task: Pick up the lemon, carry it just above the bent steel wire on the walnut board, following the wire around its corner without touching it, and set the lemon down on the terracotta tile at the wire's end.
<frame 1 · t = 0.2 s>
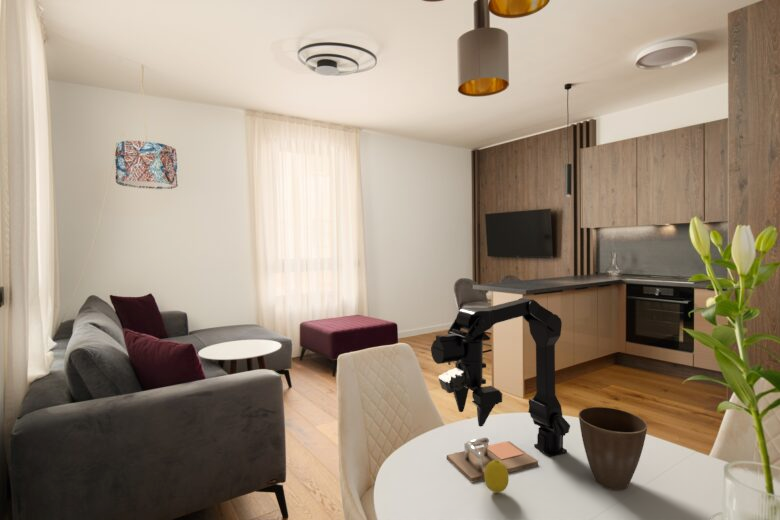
hand: (470, 418, 107), 14 cm above the table, tool pointing down, fingers open, 9 cm apart
lemon: (496, 493, 100), on the table
terracotta tile: (503, 454, 117), resting on walnut board
bent wire: (483, 466, 111), resting on walnut board
plant pot: (610, 482, 104), on the table
walnut board: (491, 461, 114), on the table
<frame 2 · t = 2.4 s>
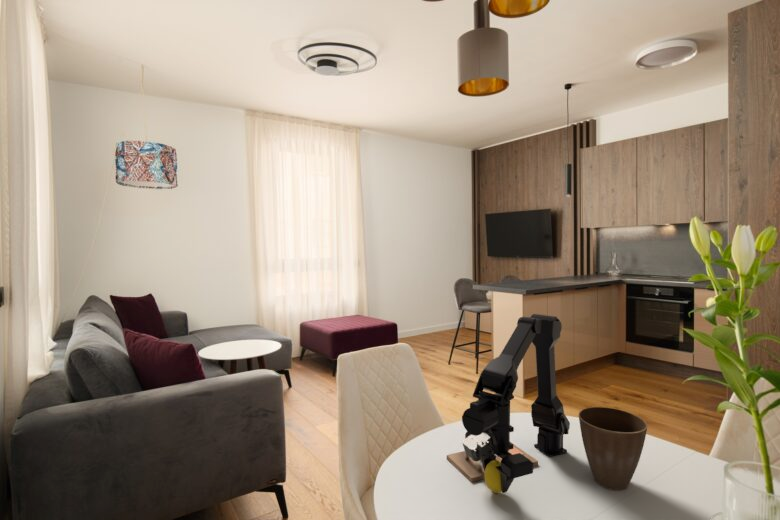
hand: (496, 485, 99), 2 cm above the table, tool pointing down, fingers closed on lemon, 5 cm apart
lemon: (496, 493, 100), on the table, touching gripper
everything else where it was.
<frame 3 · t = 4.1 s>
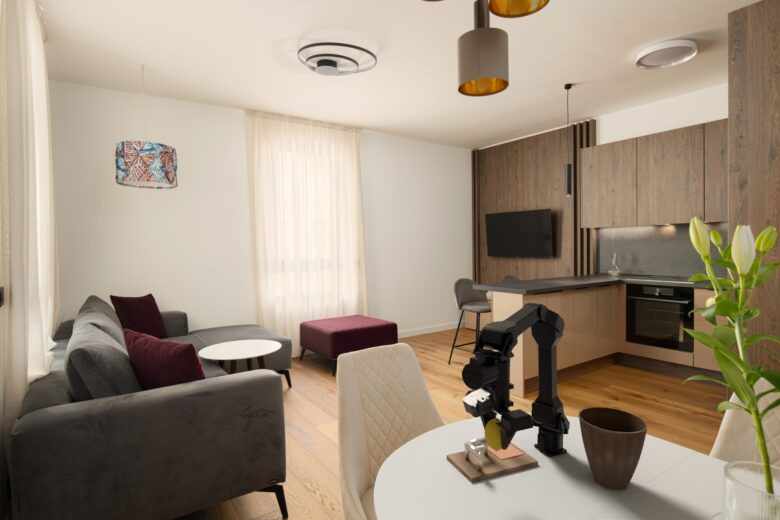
hand: (496, 443, 99), 12 cm above the table, tool pointing down, fingers closed on lemon, 5 cm apart
lemon: (496, 452, 99), point 10 cm above the table, touching gripper
everything else where it was.
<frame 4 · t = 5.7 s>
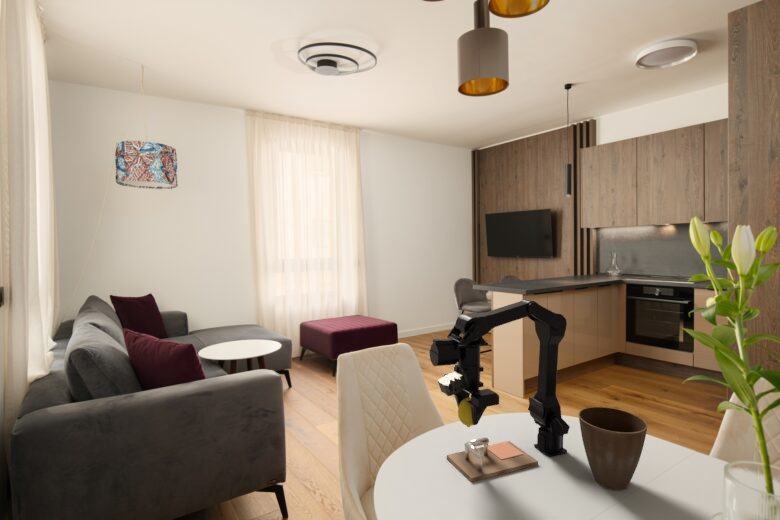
hand: (468, 420, 112), 12 cm above the table, tool pointing down, fingers closed on lemon, 5 cm apart
lemon: (468, 427, 112), point 10 cm above the table, touching gripper
everything else where it was.
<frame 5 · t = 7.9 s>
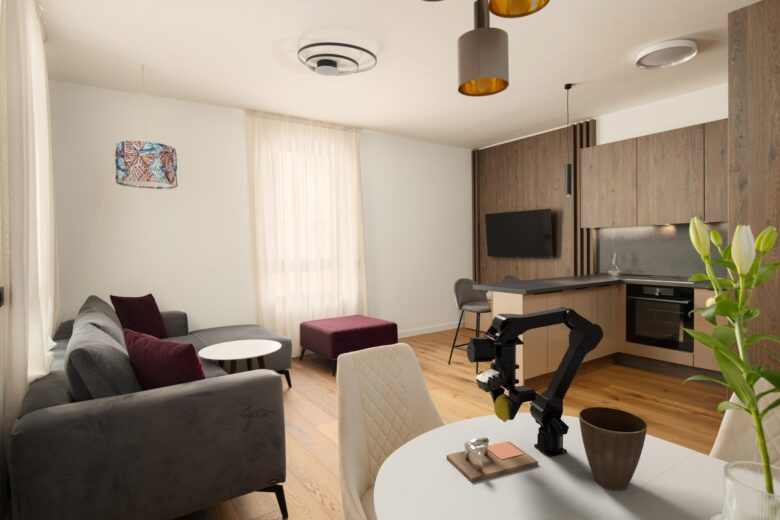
hand: (504, 415, 117), 11 cm above the table, tool pointing down, fingers closed on lemon, 5 cm apart
lemon: (504, 422, 117), point 9 cm above the table, touching gripper
everything else where it was.
when the fingers open (4 cm above the table, at t = 9.4 s): lemon drops 1 cm, resting on terracotta tile.
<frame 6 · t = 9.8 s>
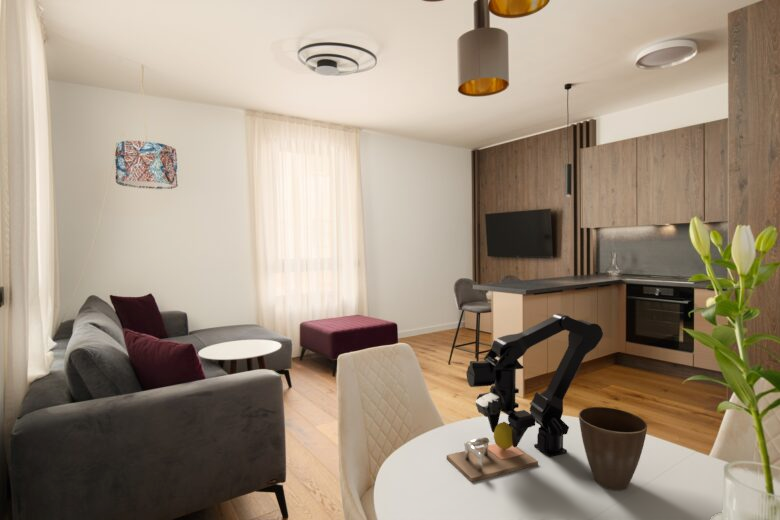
hand: (504, 439, 117), 4 cm above the table, tool pointing down, fingers open, 9 cm apart
lemon: (503, 450, 117), point 1 cm above the table, touching terracotta tile
everything else where it was.
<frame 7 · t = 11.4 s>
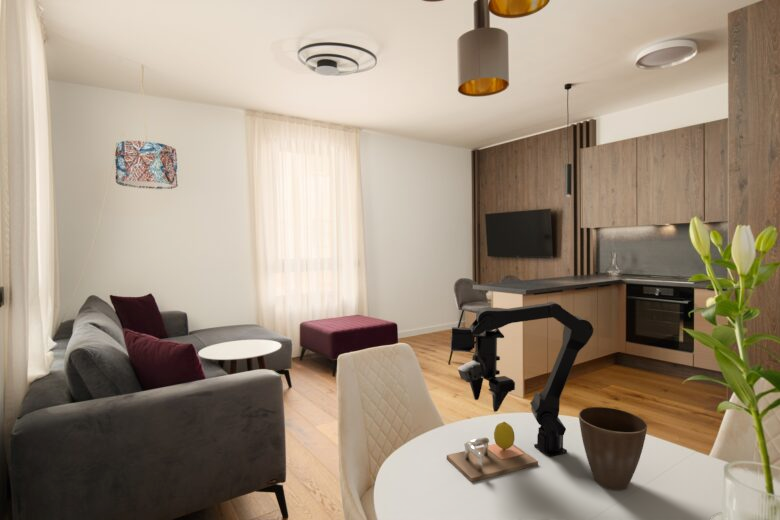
hand: (485, 405, 122), 12 cm above the table, tool pointing down, fingers open, 9 cm apart
nothing on the table moved.
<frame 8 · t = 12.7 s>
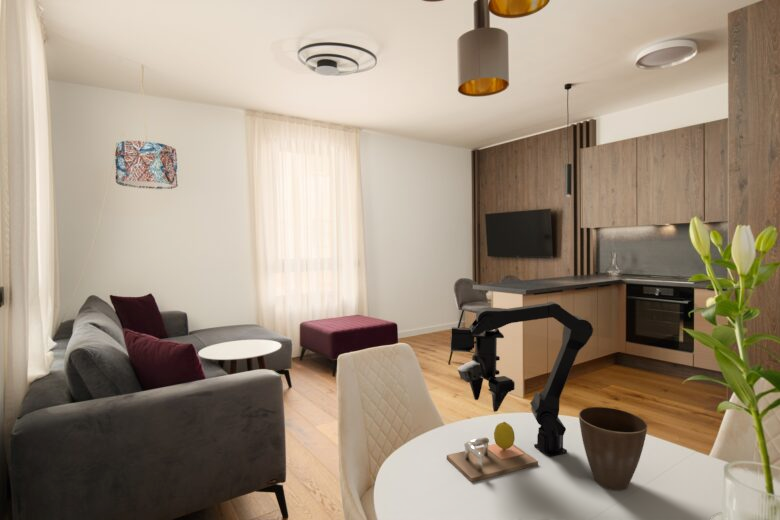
hand: (485, 405, 122), 12 cm above the table, tool pointing down, fingers open, 9 cm apart
nothing on the table moved.
at the end: lemon inside the target area on the terracotta tile (0.1 cm from its centre), point 1.0 cm above the terracotta tile's base; lemon touching terracotta tile; the gripper is holding nothing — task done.
